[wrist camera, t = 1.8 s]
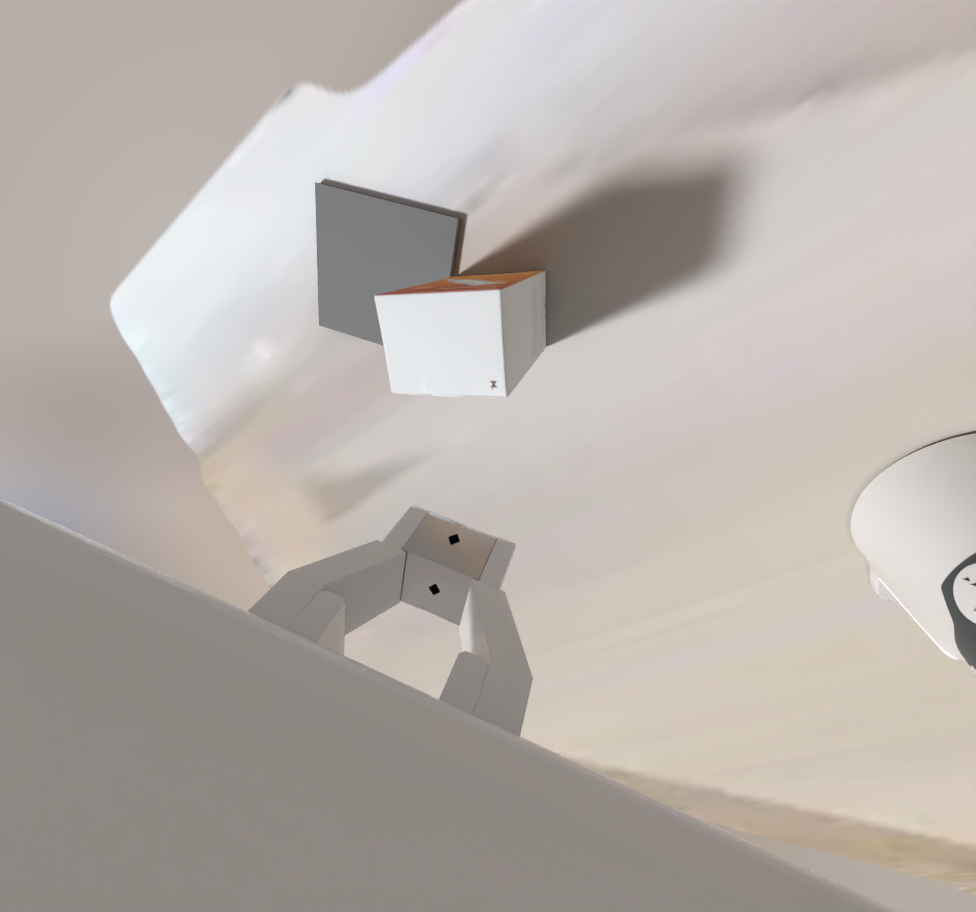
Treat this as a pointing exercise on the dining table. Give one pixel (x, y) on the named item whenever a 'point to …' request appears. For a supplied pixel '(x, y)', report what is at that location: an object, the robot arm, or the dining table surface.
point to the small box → (463, 334)
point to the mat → (374, 255)
